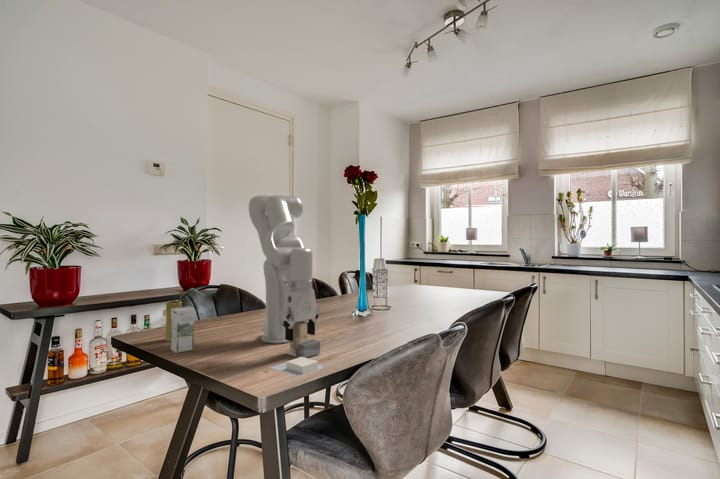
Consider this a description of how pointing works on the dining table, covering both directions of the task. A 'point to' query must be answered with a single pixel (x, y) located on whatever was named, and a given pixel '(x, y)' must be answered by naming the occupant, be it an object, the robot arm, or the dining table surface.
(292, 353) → the coaster
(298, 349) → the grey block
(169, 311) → the vase
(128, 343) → the dining table surface
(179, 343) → the syrup box
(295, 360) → the tile
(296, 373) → the mat
